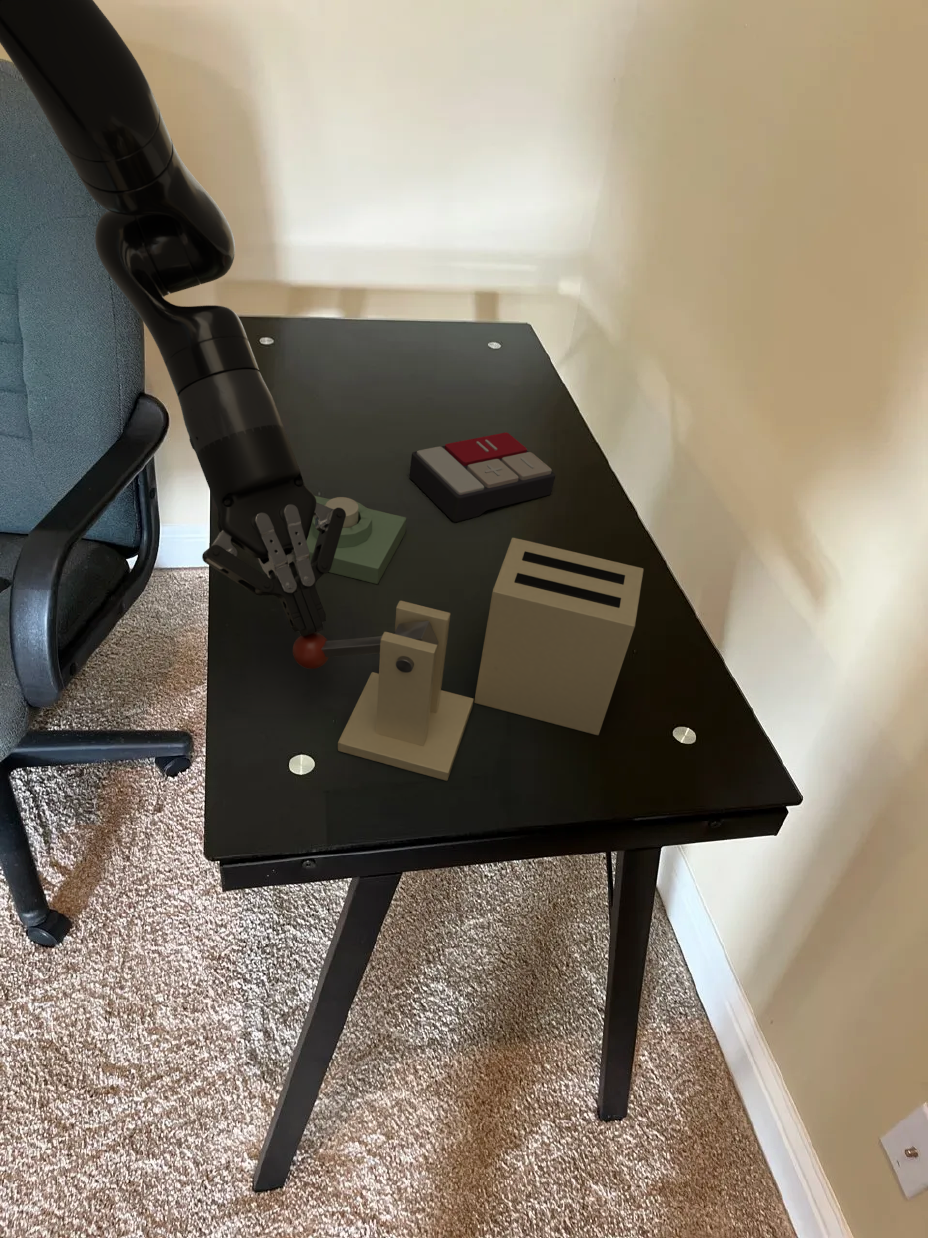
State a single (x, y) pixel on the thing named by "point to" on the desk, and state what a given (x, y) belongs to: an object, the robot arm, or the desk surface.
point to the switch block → (364, 543)
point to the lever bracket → (409, 703)
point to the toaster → (557, 635)
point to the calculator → (480, 475)
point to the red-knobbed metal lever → (353, 644)
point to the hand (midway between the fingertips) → (312, 632)
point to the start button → (345, 509)
